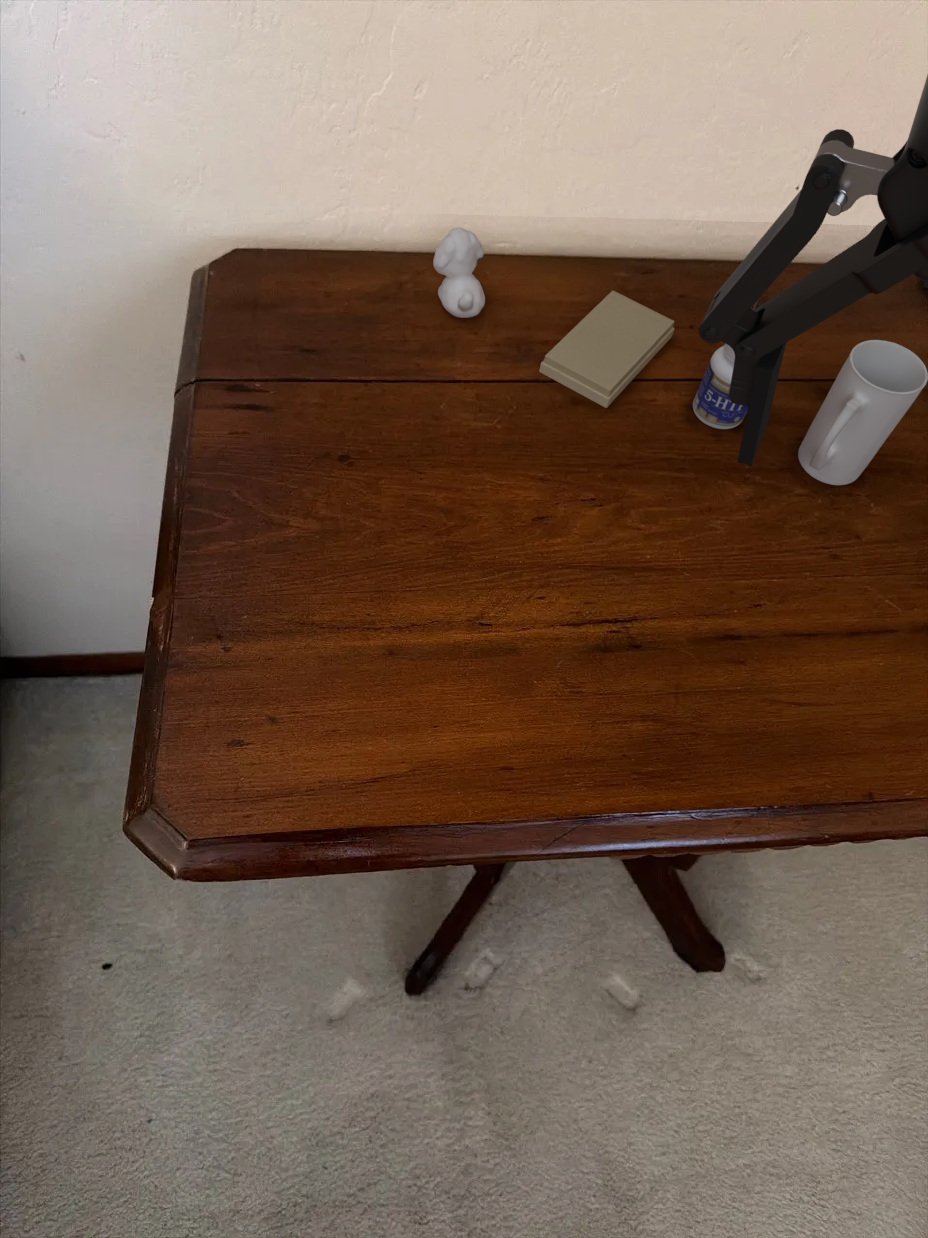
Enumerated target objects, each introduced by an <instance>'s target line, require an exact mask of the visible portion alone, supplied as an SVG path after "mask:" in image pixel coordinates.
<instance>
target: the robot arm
mask: <svg viewBox="0 0 928 1238" xmlns="http://www.w3.org/2000/svg"><path fill="white" fill-rule="evenodd" d="M919 98H920V99H919V101H918V104H917V108H916V111H915V114H914V115H915V116H914V117H913V121H912V124H911V128H910V131H909V133H908V138H907V140H906V142H904V144H903V146H902V147H901V148H900V149H899V150H898V151H897V152H896V153H895V154H894V155H893V156H892V157H890V156H887V155H882V154H878V153H874V152H870V151H866V150H862V149H858V148H854V147H855V140H854V137H853V135H852V134H851V133H850V132H849V131H847V130H845V129H843V128H842V129H841V128H840V129H838V128H837V129H833V130H829V132H828V133H826V134H825V135H824V137H823V139H822V141H821V143H820V145H819V147H818V149H817V152H816V154H815V156H814V158H813V160H812V163H811V165H810V167H809V169H808V171H807V173H806V176H805V178H804V181H803V184H802V187H801V189H800V190H799V191H798V193H797V194H796V195H795V196H794V198H793V199H792V200H791V201H790V203H789V204H787V206H786V208H785V209H784V210H783V211H782V212H781V214H780V215H779V216H777V218H776V220H775V221H774V222H773V224H771V225H770V227H769V228H768V230H767V231H766V232H765V233H764V234H763V236H762V237H761V238H760V239H759V241H757V242H756V244H755V245H754V247H752V249H751V250H750V251H749V252H748V254H747V255H746V256H745V258H744V259H743V260H742V261H741V262H740V263H739V265H738V266H737V267H736V269H735V270H734V271H733V272H732V273H731V274H730V275H729V277H728V278H727V279H726V281H725V282H724V283H723V284H722V285H721V287H720V288H719V289H718V290H717V292H716V293H715V295H714V297H713V299H712V300H711V303H710V305H709V307H708V309H707V311H706V313H705V315H704V317H703V319H702V321H701V323H700V326H699V328H698V335H699V337H700V339H702V340H703V342H705V343H708V344H717V343H719V342H721V343H724V344H725V343H726V344H727V345H729V346H730V347H731V348H732V349H733V351H734V353H735V361H734V367H733V373H732V380H731V384H730V390H729V397H730V400H731V403H734V404H738V405H743V406H747V407H748V411H747V413H746V416H745V422H744V427H743V432H742V435H741V436H742V437H741V442H740V447H739V452H738V457H737V463H740V464H743V465H747V466H752V465H753V463H754V460H755V458H756V455H757V453H758V450H759V448H760V446H761V443H762V440H763V437H764V436H765V433H766V431H767V427H768V424H769V418H770V415H771V409H772V406H773V402H774V397H775V394H776V388H777V386H778V385H777V384H778V380H779V376H780V372H781V367H782V363H783V359H784V355H785V349H786V345H787V343H788V342H790V341H791V340H793V339H795V338H797V337H798V336H800V335H802V334H804V333H805V332H807V331H808V330H810V329H812V328H814V327H815V326H818V325H819V324H820V323H822V322H824V321H826V320H828V319H829V318H830V317H832V316H834V315H836V314H837V313H839V312H840V311H841V312H842V311H843V310H844V309H846V308H847V307H849V306H851V305H852V304H854V303H856V302H858V301H860V300H861V299H862V298H864V297H866V296H867V295H870V294H874V295H879V294H881V293H883V292H884V291H887V290H888V289H890V288H893V286H895V285H897V284H899V283H900V282H902V281H904V280H906V279H907V278H909V277H910V276H912V275H914V276H915V277H917V278H918V279H920V280H922V281H924V283H923V286H922V288H927V289H928V74H927V76H926V78H925V82H924V85H923V89H922V92H921V94H920V97H919ZM870 195H871V196H876V199H877V205H878V207H879V210H880V211H881V213H882V215H883V217H884V219H882V220H880V221H879V222H878V223H877V224H876V225H875V226H873V228H872V229H871V230H870V232H869V233H867V234H866V236H864V237H863V238H861V239H859V240H858V241H856V242H855V243H854V244H852V245H850V246H849V247H848V248H846V249H844V250H843V251H841V252H840V253H838V254H837V255H836V256H834V257H832V258H831V259H829V260H827V261H826V262H825V263H823V264H822V265H820V266H819V267H817V268H815V269H814V270H812V271H811V272H809V273H808V274H806V275H805V276H803V277H802V278H800V279H799V280H798V281H796V282H794V283H792V284H790V286H788V287H786V288H785V289H784V290H782V291H780V292H779V293H777V294H776V295H775V296H773V297H771V298H770V299H768V300H767V301H766V302H764V303H762V304H760V303H761V301H760V298H761V297H762V295H764V293H765V292H766V291H767V290H768V289H769V288H770V286H771V285H773V283H774V282H775V281H776V280H777V279H778V278H779V277H780V275H781V274H782V273H783V272H784V271H785V270H786V268H788V266H790V264H791V263H792V261H794V259H795V258H796V257H798V255H799V254H800V253H801V252H802V251H803V250H804V249H805V248H806V246H807V245H808V244H809V243H810V242H811V240H812V239H813V238H814V236H815V235H816V234H817V233H818V232H819V229H820V228H821V226H822V224H823V223H824V221H825V218H826V216H827V214H828V215H829V216H831V217H836V216H839V215H840V214H842V213H843V212H846V211H848V210H849V209H851V208H852V207H853V206H854V204H855V203H856V201H858V200H859V199H860V198H862V197H865V196H870ZM752 307H753V308H752Z"/></svg>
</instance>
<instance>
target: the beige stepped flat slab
mask: <svg viewBox="0 0 928 1238" xmlns="http://www.w3.org/2000/svg"><path fill="white" fill-rule="evenodd" d="M674 324H675V320H673V319H672V318H669V317H667V316H665V315H663V314H661V313H659V312H657V311H656V310H653V309H651V308H649V307H647V306H645V305H643V304H641V303H639V302H637V301H635V300H633V299H631V298H629V297H627V296H625V295H623V294H621V293H619V292H617V291H615V290H611V291H610V292H609V293H608V294H607V295H606V296H605V297H604V298H603V299H602V300H601V301H600V302H599V303H598V304H597V305H596V306H595V307H594V308H592V310H590V311H589V312H588V314H587V315H585V316H584V317H583V318H582V319H581V320H580V321H579V322H578V323H577V324H576V325H575V326H574V327H573V328H572V329H571V330H569V332H568V333H567V334H566V335H565V336H564V337H563V338H561V339H560V341H559V342H558V343H557V344H555V345H554V346H553V348H551V349H550V350H549V351H548V352H547V353H546V354H545V355H544V358H543V360H542V361H541V362H540V364H539V365H540V366H539V371H538V372H539V373H540V374H542V375H544V376H546V377H548V378H550V379H551V380H553V381H555V382H556V383H559V384H561V385H562V386H564V387H566V388H568V389H570V390H571V391H574V392H576V393H577V394H579V395H581V396H583V397H585V398H587V399H588V400H590V401H592V402H594V403H595V404H597V405H600V406H602V407H603V408H605V409H607V408H608V407H609V406H610V405H611V404H612V403H613V402H614V401H615V400H616V398H617V397H619V395H620V394H621V393H622V392H623V391H624V390H625V389H626V387H627V386H629V385H630V383H631V382H632V381H633V380H634V379H635V378H636V377H637V375H638V374H639V373H640V372H641V371H642V370H643V369H644V368H645V367H646V366H647V365H648V363H650V362H651V360H653V358H654V357H655V356H656V355H657V354H658V353H659V352H660V351H661V349H662V348H663V347H664V346H665V345H666V344H667V343H668V342H669V340H670V339H671V338H672V337H673V335H674V332H675V327H674Z"/></svg>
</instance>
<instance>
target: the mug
mask: <svg viewBox="0 0 928 1238" xmlns="http://www.w3.org/2000/svg"><path fill="white" fill-rule="evenodd" d="M927 383H928V368H927V366H926V365H925V363H924V361H922V360H921V358H920V357H919V356H918V355H917V354H916V353H914V352H913V351H911V350H910V349H908V347H907V348H906V347H905V346H903V345H901V344H898V343H896V342H893V341H889V340H883V339H882V340H881V339H869V340H865V341H862V342H859V343H858V344H856V345H854V347H853V348H852V349H851V351H850V353H849V355H848V356H847V358H846V360H845V362H844V363H843V365H842V367H841V369H840V371H839V372H838V374H837V376H836V377H835V380H834V382H833V384H832V385H831V388H830V389H829V391H828V393H827V395H826V397H825V398H824V400H823V402H822V404H821V406H820V407H819V410H818V411H817V413H816V415H815V417H814V418H813V420H812V422H811V424H810V426H809V428H808V430H807V432H806V434H805V436H804V438H803V440H802V442H801V444H800V445H799V448H798V451H797V458H798V462H799V464H800V465H801V467H802V469H803V470H804V472H805V473H807V475H809V476H810V477H812V478H813V479H815V480H817V481H819V482H821V483H824V484H827V485H831V486H845V485H849V484H852V483H853V482H855V481H856V480H858V478H859V477H860V476H861V475H862V474H863V472H864V471H865V469H867V467H868V465H869V464H871V461H872V460H873V459H874V458H875V456H876V455H877V453H878V452H879V450H880V449H881V448H882V446H883V445H884V443H885V442H887V441H886V440H887V439H888V438H889V436H890V435H891V434H892V432H893V431H894V429H895V428H896V427H897V425H899V423H900V421H901V420H902V418H904V417H905V415H906V413H907V412H908V410H909V409H910V407H911V406H912V405H913V404H914V402H915V401H916V399H917V398H918V397H919V395H920V394H921V392H922V390H923V389H924V388H925V386H926V385H927Z"/></svg>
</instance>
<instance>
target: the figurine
mask: <svg viewBox="0 0 928 1238" xmlns="http://www.w3.org/2000/svg"><path fill="white" fill-rule="evenodd" d="M484 255H485V250H484V247H483V245H482V242H481V241H480V239H479V238H478V237H477V235H476V234H475V233H474V232H473V231H471V230H467V229H465V228H463V227H461V226H458V227H455V228H452V229H450V230H449V231H448V233H447V234H446V236H445V237H444V238H443V239H441V242H440V244H439V245H438V247H437V248H436V249H435V253H434V256H433V260H432V261H433V262H432V264H433V265H432V266H433V268H434V270H435V271H436V272H437V273H438V274H439V275H443V276H445V277H444V279H443V280H442V282H441V284H440V286H439V287H438V289H437V296H438V298H439V300H440V302H441V304H442V306H443V308H444V309H445V311H447V312H448V313H449V314H450V315H452V316H453V317H456V318H460V319H469V318H473V317H475V316H478V315H479V314H480V313H481V311H482V309H483V308H484V307H485V304H486V296H485V292H484V289H483V286H482V285H481V282H480V281H479V279H478V278H476V277H475V274H473V272H474V271H475V269H476V268H477V265H478V260H480V259H482V258H483V257H484Z"/></svg>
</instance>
